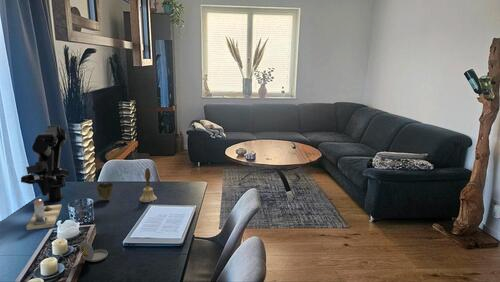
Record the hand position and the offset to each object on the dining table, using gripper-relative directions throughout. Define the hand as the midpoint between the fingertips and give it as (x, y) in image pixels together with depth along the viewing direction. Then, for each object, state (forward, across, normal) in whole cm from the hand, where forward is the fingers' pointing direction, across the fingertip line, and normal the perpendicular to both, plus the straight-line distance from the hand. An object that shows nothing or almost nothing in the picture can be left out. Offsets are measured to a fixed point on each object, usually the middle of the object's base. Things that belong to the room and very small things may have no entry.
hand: (44, 195), depth 140 cm
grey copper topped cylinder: (+12, +2, -4) cm, 13 cm away
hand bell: (+4, +33, +29) cm, 44 cm away
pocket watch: (+30, +33, -17) cm, 48 cm away
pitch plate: (+9, -1, +3) cm, 9 cm away
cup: (+2, +14, +24) cm, 27 cm away
